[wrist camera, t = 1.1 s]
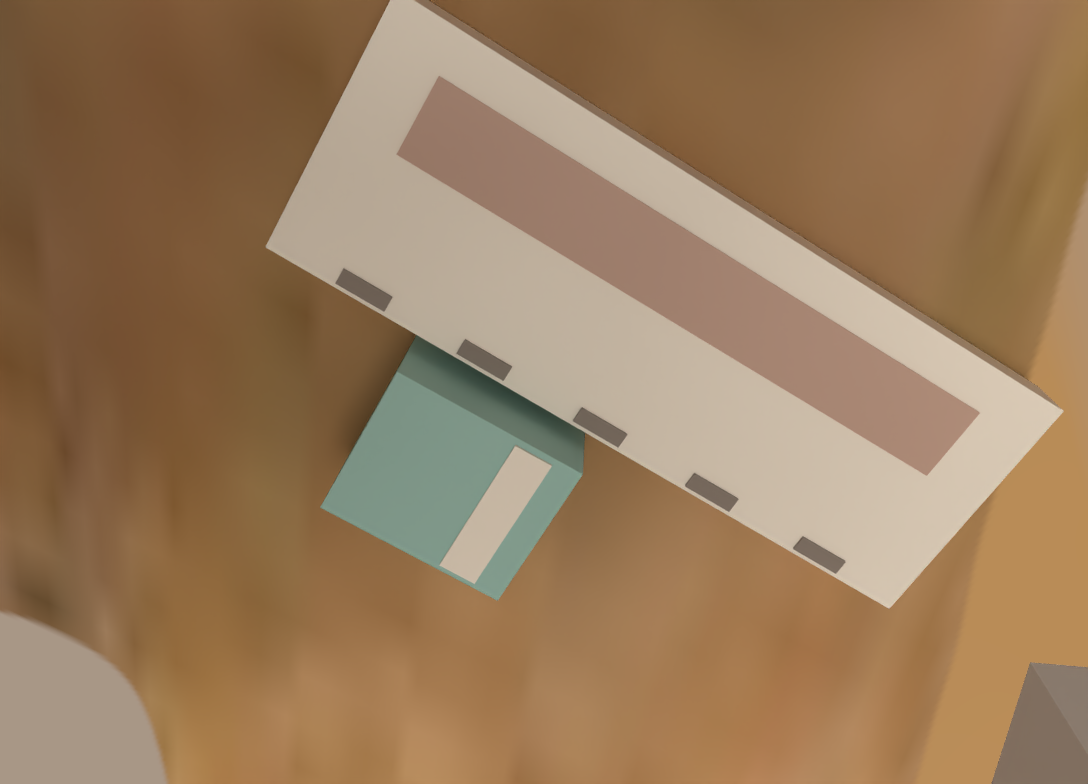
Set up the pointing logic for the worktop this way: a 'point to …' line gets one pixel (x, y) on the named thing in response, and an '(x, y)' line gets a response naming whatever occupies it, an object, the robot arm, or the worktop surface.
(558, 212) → the slab
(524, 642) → the worktop surface
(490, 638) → the worktop surface
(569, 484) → the stub
